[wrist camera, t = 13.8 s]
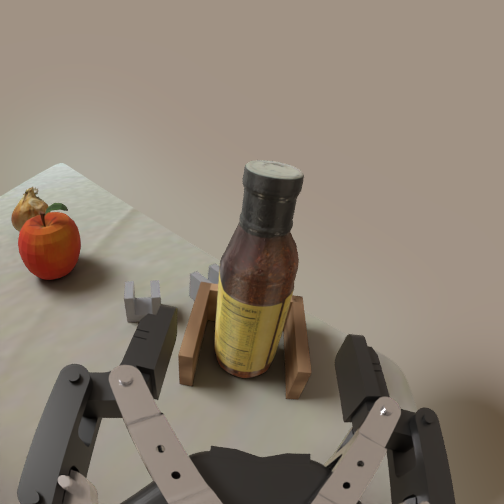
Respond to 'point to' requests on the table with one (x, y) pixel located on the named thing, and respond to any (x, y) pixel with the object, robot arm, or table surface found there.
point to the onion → (28, 208)
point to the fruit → (50, 243)
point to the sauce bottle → (258, 270)
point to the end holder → (293, 330)
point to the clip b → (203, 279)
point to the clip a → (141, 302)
